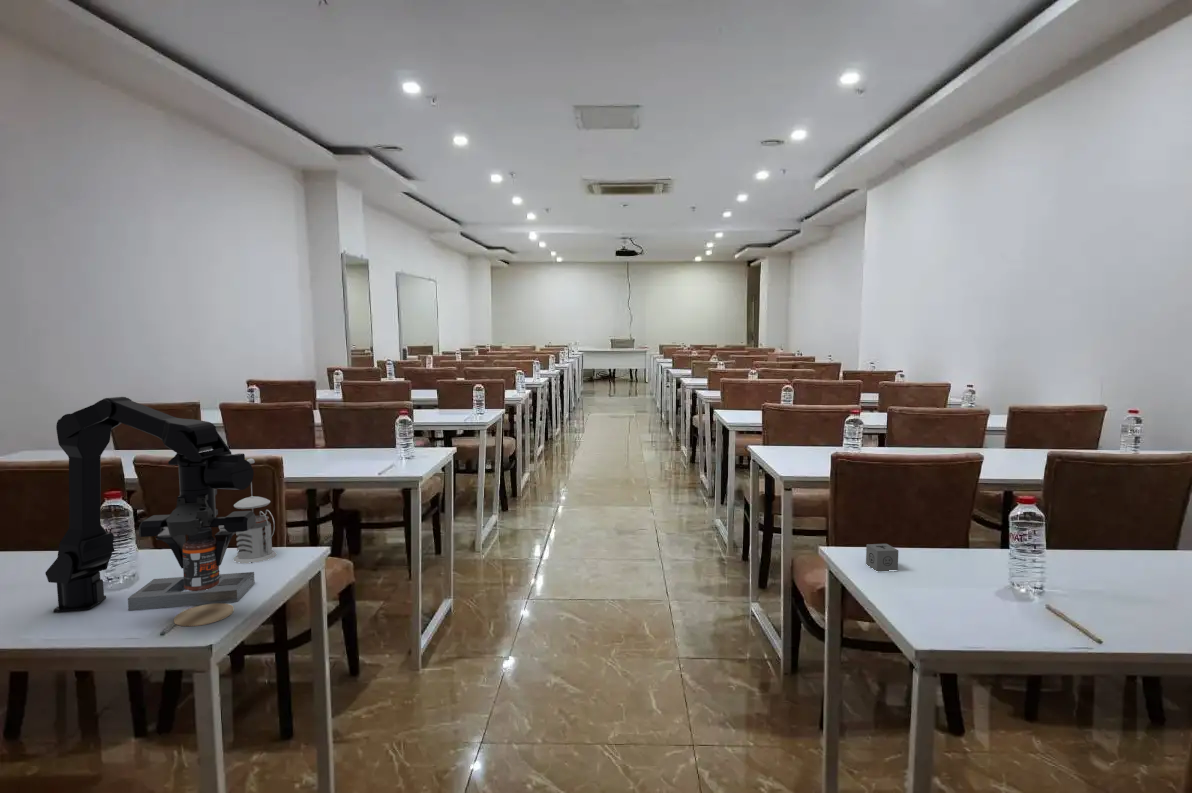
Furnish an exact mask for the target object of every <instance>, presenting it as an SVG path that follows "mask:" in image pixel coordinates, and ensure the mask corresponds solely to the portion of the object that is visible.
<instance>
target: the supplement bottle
mask: <svg viewBox="0 0 1192 793" xmlns="http://www.w3.org/2000/svg"><path fill="white" fill-rule="evenodd" d="M187 538H188V539H187V540H186V542H185V543H184V544H183V568H182V570H183V572H182V573H183V577H184V588H185V589H186V590H185V591H202V590H208V589H210V588H213V587H215V586H216V585H218V584H219V574H220V572H221V571H220V566H217V563H216V545H217V541H216V538H214V536H213V530H212V527H209V528H200V531H199V532H198V533H197V534H195V535H191V536H188V535H187Z"/></svg>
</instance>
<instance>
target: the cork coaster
mask: <svg viewBox="0 0 1192 793" xmlns="http://www.w3.org/2000/svg"><path fill="white" fill-rule="evenodd" d="M234 610H235V609H234V606H233V605H232V604H229V603H215V604H204V605H196V606H194V607H191V608H188V609H185V610H183V611H181V612H179V613H178V614H176V616H174V619H173V623H174V624H175V625H176V626H179V627H199V626H204V625H205V626H206V625H210V624H213V623H216V622H220V621H222V620H224V619H226V618H228V617H230V616H231V615H232V614H233V613H234Z"/></svg>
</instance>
